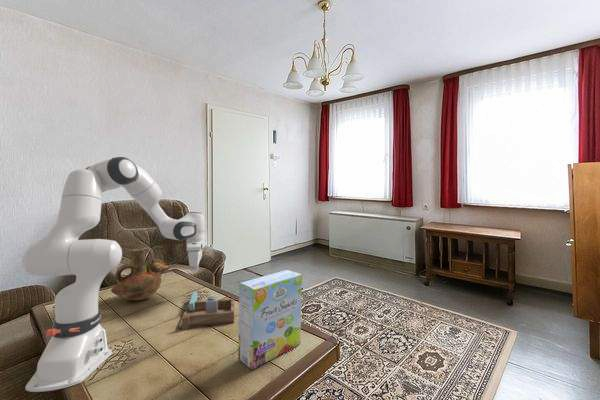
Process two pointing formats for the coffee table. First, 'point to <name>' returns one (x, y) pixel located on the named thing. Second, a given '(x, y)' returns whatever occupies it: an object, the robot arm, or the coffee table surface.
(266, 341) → the snack box
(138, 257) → the ceramic vessel
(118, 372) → the coffee table surface
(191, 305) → the retainer bar
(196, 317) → the brown wooden tray
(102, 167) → the robot arm
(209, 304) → the jaw block
